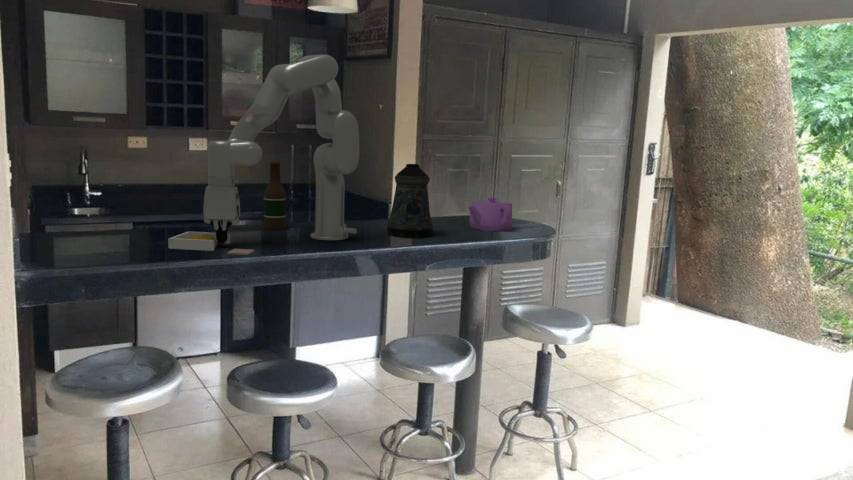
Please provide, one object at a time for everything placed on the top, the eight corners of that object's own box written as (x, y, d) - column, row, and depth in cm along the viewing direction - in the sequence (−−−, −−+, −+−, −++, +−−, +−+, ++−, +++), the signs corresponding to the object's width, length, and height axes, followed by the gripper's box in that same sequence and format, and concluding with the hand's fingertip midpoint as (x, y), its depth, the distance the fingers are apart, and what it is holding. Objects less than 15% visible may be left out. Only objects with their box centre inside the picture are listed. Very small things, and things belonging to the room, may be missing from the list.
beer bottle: (290, 228, 253) (290, 162, 249) (274, 230, 246) (275, 162, 242) (274, 226, 257) (274, 160, 253) (258, 228, 250) (259, 161, 246)
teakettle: (511, 233, 263) (512, 200, 261) (466, 230, 266) (467, 198, 264) (513, 227, 280) (514, 196, 278) (470, 224, 282) (472, 194, 280)
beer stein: (395, 239, 239) (397, 165, 235) (378, 230, 257) (380, 162, 253) (439, 237, 245) (442, 166, 241) (420, 229, 263) (422, 162, 259)
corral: (230, 243, 219) (229, 233, 219) (213, 250, 206) (213, 240, 205) (188, 240, 220) (187, 231, 220) (168, 248, 207) (168, 238, 206)
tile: (254, 251, 207) (254, 249, 207) (247, 255, 201) (247, 253, 201) (234, 250, 208) (234, 248, 208) (227, 254, 202) (227, 252, 202)
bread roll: (195, 244, 217) (195, 231, 216) (220, 246, 214) (220, 233, 213) (179, 248, 209) (178, 235, 208) (205, 251, 206) (205, 237, 206)
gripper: (249, 182, 212) (249, 242, 215) (201, 180, 214) (202, 239, 217) (241, 184, 205) (241, 246, 208) (191, 182, 206) (192, 243, 209)
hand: (221, 242), depth 212 cm, fingers closed
